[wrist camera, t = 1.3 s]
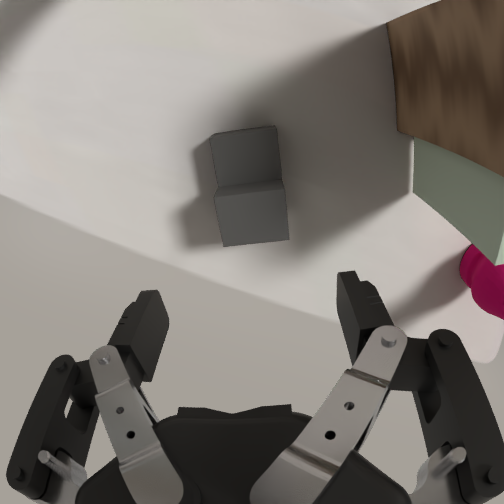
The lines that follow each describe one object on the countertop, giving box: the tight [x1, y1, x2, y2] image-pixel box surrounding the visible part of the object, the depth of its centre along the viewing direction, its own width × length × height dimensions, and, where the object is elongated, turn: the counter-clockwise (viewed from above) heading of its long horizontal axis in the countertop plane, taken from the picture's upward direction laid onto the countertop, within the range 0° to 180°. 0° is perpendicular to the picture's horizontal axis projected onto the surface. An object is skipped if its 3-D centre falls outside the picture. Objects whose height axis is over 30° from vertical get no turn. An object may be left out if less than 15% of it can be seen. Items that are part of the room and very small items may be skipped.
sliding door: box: [413, 137, 504, 266], centre depth 16 cm, size 12×1×12 cm, turn 8°
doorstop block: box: [210, 126, 289, 247], centre depth 23 cm, size 8×5×5 cm, turn 8°
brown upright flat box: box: [386, 0, 504, 177], centre depth 13 cm, size 10×4×16 cm, turn 8°
